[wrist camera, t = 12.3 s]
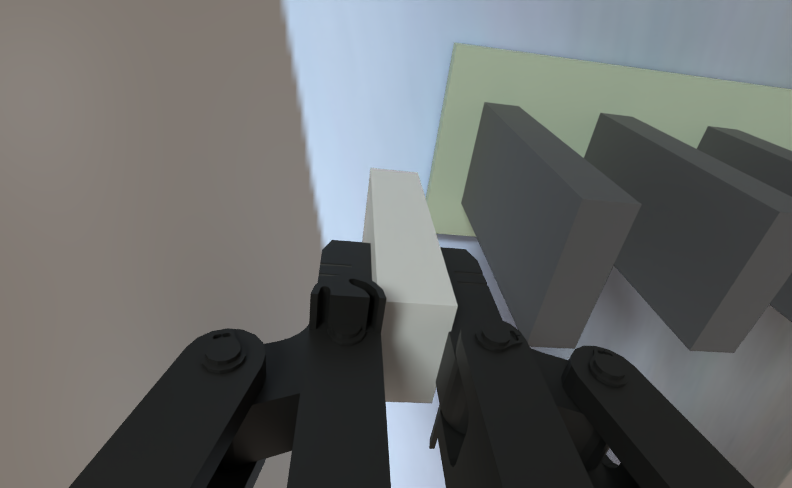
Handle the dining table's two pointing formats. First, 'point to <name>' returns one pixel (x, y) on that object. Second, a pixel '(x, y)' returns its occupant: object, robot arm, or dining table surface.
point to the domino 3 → (755, 175)
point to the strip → (583, 110)
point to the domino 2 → (695, 233)
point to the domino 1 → (543, 224)
